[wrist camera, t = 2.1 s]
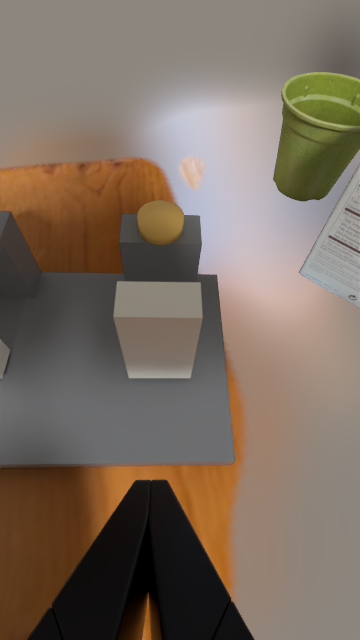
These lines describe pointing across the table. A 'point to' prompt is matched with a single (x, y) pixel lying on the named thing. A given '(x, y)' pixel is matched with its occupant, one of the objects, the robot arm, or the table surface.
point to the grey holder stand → (107, 358)
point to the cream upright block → (3, 357)
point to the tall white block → (158, 327)
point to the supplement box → (339, 247)
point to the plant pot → (317, 133)
